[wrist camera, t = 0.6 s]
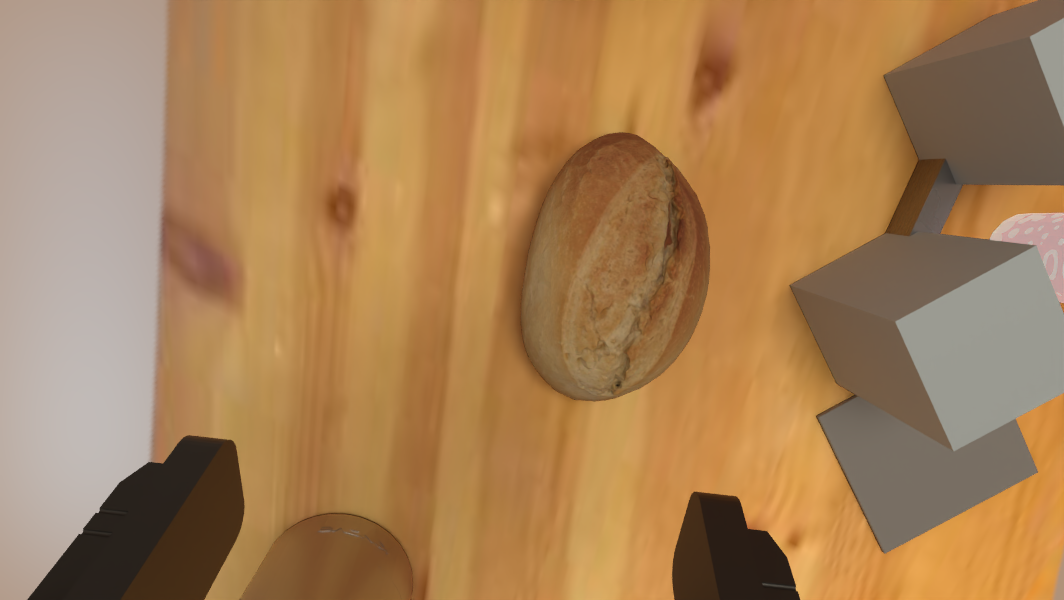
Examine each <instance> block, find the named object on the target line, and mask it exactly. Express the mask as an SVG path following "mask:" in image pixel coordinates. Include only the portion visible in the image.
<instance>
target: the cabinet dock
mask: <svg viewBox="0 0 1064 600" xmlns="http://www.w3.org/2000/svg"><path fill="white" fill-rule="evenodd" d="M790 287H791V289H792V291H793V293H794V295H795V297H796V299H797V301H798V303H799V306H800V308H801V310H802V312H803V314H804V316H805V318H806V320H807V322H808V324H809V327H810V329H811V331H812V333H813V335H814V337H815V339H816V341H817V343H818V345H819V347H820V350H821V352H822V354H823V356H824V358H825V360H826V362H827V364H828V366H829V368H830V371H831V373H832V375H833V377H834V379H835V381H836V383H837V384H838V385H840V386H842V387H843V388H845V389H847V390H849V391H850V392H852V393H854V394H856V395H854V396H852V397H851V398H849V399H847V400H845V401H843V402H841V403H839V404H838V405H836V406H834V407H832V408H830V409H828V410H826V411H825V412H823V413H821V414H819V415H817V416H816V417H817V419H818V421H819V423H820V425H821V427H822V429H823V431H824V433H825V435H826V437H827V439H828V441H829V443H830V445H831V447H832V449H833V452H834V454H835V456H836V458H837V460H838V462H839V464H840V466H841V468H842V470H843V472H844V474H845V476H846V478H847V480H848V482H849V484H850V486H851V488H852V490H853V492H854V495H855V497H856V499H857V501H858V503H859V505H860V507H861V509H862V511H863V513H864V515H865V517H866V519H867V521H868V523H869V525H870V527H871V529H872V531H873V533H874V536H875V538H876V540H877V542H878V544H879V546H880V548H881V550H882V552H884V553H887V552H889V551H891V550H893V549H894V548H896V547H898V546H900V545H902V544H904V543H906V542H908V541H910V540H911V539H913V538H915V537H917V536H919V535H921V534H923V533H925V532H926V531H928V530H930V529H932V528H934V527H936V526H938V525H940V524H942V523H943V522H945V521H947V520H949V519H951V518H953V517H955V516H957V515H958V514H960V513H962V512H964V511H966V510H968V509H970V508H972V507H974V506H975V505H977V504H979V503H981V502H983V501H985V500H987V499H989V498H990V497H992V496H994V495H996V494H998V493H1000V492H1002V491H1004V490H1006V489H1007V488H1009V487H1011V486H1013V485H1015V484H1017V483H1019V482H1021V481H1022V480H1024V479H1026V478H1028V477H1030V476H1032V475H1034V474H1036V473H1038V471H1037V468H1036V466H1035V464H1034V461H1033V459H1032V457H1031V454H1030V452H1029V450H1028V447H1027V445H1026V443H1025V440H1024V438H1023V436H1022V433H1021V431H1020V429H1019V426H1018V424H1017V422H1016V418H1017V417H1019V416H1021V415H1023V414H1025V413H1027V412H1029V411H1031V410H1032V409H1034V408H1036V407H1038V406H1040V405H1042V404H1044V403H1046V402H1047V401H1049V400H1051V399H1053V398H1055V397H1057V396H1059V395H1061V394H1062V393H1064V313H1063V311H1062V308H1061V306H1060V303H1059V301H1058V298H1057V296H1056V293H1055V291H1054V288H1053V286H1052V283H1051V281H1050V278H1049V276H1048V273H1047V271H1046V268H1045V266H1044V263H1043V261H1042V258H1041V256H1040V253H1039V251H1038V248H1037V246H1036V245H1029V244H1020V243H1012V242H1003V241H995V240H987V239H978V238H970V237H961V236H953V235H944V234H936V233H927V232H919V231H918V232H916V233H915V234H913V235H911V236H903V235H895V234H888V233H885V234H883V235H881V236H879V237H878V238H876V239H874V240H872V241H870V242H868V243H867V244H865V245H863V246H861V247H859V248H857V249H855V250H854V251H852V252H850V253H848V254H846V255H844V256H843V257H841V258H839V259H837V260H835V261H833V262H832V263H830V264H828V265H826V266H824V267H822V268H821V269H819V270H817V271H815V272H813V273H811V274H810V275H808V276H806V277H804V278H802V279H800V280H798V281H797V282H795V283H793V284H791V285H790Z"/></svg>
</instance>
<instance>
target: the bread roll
mask: <svg viewBox="0 0 1064 600" xmlns="http://www.w3.org/2000/svg"><path fill="white" fill-rule="evenodd" d="M709 272H710V245H709V238H708V227H707V223H706V219H705V215H704V212H703V210H702V207H701V205H700V202H699V200H698V197H697V195H696V193H695V192H694V191H693V190H692V188H691V186H690V185H689V183H688V182H687V180H686V179H685V178H684V176H683V175H682V174H681V172H680V171H679V170H678V168H677V167H676V166H675V165H674V164H673V163H672V162H671V161H670V160H669V158H668V157H665V156H664V155H663V154H662V153H661V152H659V151H658V150H657V149H656V148H655V147H654V146H653V145H651V144H650V143H648V142H647V141H645V140H644V139H642V138H641V137H639V136H637V135H634V134H630V133H613V134H607V135H604V136H601V137H599V138H597V139H595V140H593V141H592V142H590V143H589V144H587V145H585V146H584V147H582V148H581V149H579V150H578V151H577V152H576V153H575V154H574V155H573V156H572V157H571V158H570V159H569V161H568V162H567V163H566V164H565V166H564V167H563V168H562V170H561V171H560V172H559V174H558V176H557V177H556V179H555V181H554V182H553V184H552V186H551V187H550V189H549V191H548V194H547V196H546V198H545V200H544V203H543V205H542V208H541V211H540V214H539V217H538V220H537V222H536V226H535V229H534V233H533V236H532V240H531V244H530V248H529V252H528V258H527V263H526V269H525V275H524V281H523V288H522V298H521V328H522V337H523V342H524V345H525V349H526V352H527V354H528V357H529V358H530V360H531V362H532V364H533V366H534V367H535V369H536V370H537V371H538V373H539V374H540V375H541V376H542V378H543V379H544V380H545V381H546V382H547V383H548V384H549V385H550V386H551V387H552V388H553V389H554V390H556V391H557V392H559V393H562V394H564V395H566V396H568V397H570V398H572V399H574V400H587V401H601V400H608V399H613V398H617V397H619V396H622V395H625V394H627V393H629V392H632V391H634V390H637V389H639V388H641V387H643V386H644V385H646V384H648V383H649V382H651V381H652V380H654V379H655V378H657V377H658V376H660V375H661V374H662V373H663V372H664V371H665V370H666V369H667V368H668V367H669V366H670V365H671V364H672V363H673V362H674V361H675V360H676V359H677V357H678V356H679V354H680V353H681V352H682V351H683V349H684V348H685V346H686V345H687V343H688V342H689V340H690V338H691V336H692V334H693V332H694V330H695V328H696V326H697V323H698V321H699V318H700V316H701V313H702V310H703V306H704V302H705V299H706V295H707V290H708V284H709Z"/></svg>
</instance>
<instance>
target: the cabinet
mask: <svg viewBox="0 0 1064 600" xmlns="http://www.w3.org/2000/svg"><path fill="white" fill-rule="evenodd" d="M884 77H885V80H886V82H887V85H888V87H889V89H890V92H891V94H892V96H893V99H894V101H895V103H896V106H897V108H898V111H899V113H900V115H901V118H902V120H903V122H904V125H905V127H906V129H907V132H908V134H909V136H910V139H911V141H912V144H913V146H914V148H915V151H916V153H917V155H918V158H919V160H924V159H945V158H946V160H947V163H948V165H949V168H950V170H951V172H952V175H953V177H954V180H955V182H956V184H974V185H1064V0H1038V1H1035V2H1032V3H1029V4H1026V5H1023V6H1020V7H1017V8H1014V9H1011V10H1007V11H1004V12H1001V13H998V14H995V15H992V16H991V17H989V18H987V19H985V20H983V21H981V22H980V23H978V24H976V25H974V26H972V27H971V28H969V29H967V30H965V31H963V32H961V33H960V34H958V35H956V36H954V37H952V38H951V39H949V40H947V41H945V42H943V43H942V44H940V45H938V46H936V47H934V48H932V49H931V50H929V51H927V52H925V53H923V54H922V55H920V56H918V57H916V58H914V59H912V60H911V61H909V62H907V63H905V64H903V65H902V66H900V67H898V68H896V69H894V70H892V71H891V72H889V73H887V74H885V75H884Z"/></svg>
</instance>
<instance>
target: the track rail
mask: <svg viewBox="0 0 1064 600" xmlns="http://www.w3.org/2000/svg"><path fill="white" fill-rule="evenodd" d="M962 186H963V184H956V182H955V180H954V177H953V175H952V172H951V170H950V168H949V165H948V163H947V160H946V158H945V159H924V160H919V162H918V164H917V166H916V168H915V170H914V172H913V175H912V177H911V179H910V181H909V183H908V185H907V188H906V190H905V192H904V194H903V196H902V198H901V201H900V203H899V205H898V207H897V209H896V211H895V214H894V216H893V218H892V220H891V222H890V224H889V227H888V229H887V231H886V233H888V234H895V235H903V236H911V235H913V234H915V233H916V232H918V231H919V232H927V233H936V234H940V233H941V230H942V228H943V226H944V224H945V222H946V220H947V218H948V216H949V213H950V211H951V209H952V207H953V205H954V203H955V201H956V199H957V197H958V194H959V192H960V190H961V188H962Z"/></svg>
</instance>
